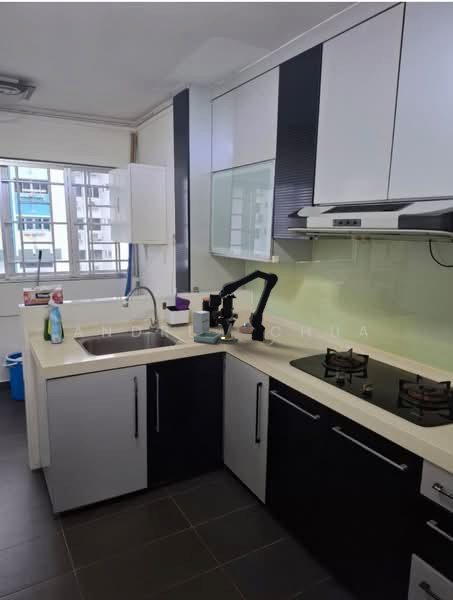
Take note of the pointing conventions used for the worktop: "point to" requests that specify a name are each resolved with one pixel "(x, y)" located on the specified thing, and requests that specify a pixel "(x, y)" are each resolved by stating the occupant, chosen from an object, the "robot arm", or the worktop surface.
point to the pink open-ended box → (245, 329)
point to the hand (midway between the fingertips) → (227, 333)
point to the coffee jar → (210, 311)
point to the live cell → (228, 332)
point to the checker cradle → (227, 341)
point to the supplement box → (200, 321)
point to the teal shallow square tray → (207, 337)
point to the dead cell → (247, 325)
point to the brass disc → (227, 338)
